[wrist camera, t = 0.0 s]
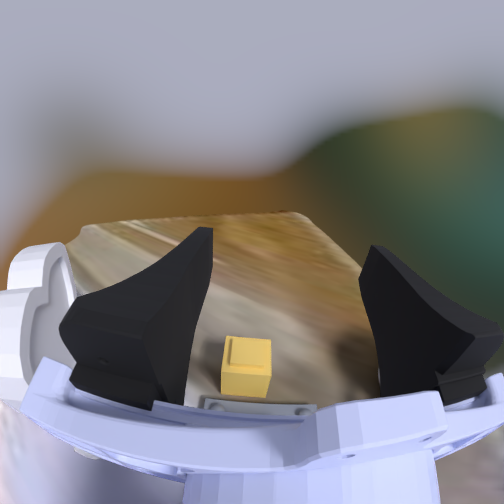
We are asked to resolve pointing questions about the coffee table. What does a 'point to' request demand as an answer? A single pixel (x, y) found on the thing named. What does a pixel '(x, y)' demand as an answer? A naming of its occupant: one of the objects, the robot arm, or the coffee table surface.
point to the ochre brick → (246, 367)
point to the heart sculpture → (34, 319)
